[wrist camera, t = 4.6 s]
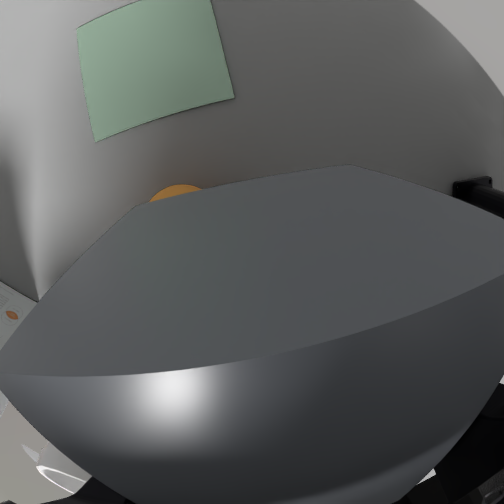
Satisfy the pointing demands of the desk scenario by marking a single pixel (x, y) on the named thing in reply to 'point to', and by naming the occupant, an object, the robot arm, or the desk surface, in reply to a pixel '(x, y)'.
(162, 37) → the tape square
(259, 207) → the large grey box
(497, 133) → the desk surface
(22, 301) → the small box
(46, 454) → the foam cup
